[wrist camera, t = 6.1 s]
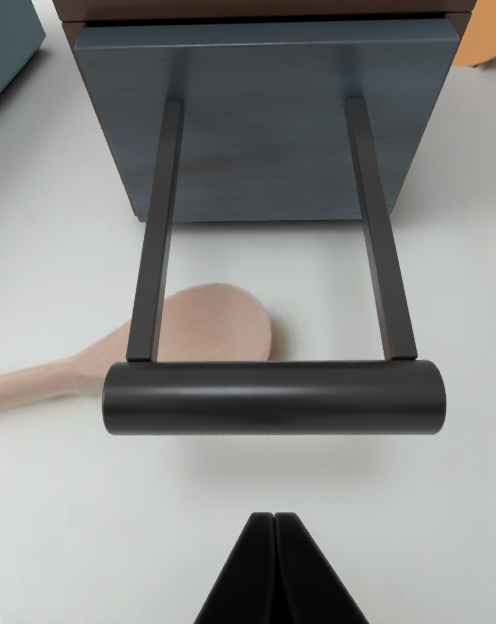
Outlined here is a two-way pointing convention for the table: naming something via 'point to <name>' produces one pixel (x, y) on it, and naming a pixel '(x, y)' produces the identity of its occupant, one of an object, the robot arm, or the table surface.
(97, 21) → the cabinet
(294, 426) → the drawer
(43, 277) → the table surface
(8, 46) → the book
